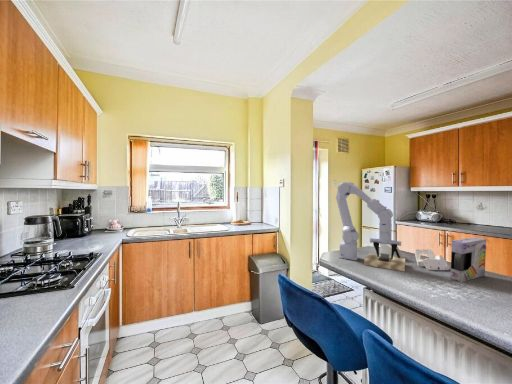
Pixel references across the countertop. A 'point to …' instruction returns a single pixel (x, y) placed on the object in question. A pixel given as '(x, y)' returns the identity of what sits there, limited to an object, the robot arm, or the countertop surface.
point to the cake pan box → (468, 258)
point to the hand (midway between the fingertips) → (385, 257)
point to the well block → (392, 264)
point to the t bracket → (384, 257)
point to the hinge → (390, 250)
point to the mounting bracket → (430, 260)
